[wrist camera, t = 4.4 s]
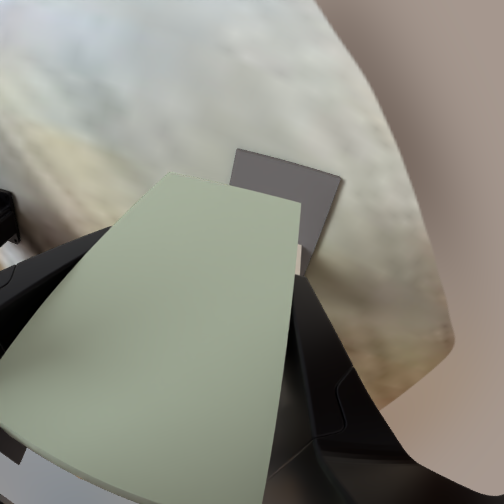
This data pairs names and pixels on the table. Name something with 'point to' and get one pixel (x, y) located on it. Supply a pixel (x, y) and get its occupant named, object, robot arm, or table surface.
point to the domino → (164, 349)
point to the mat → (290, 192)
